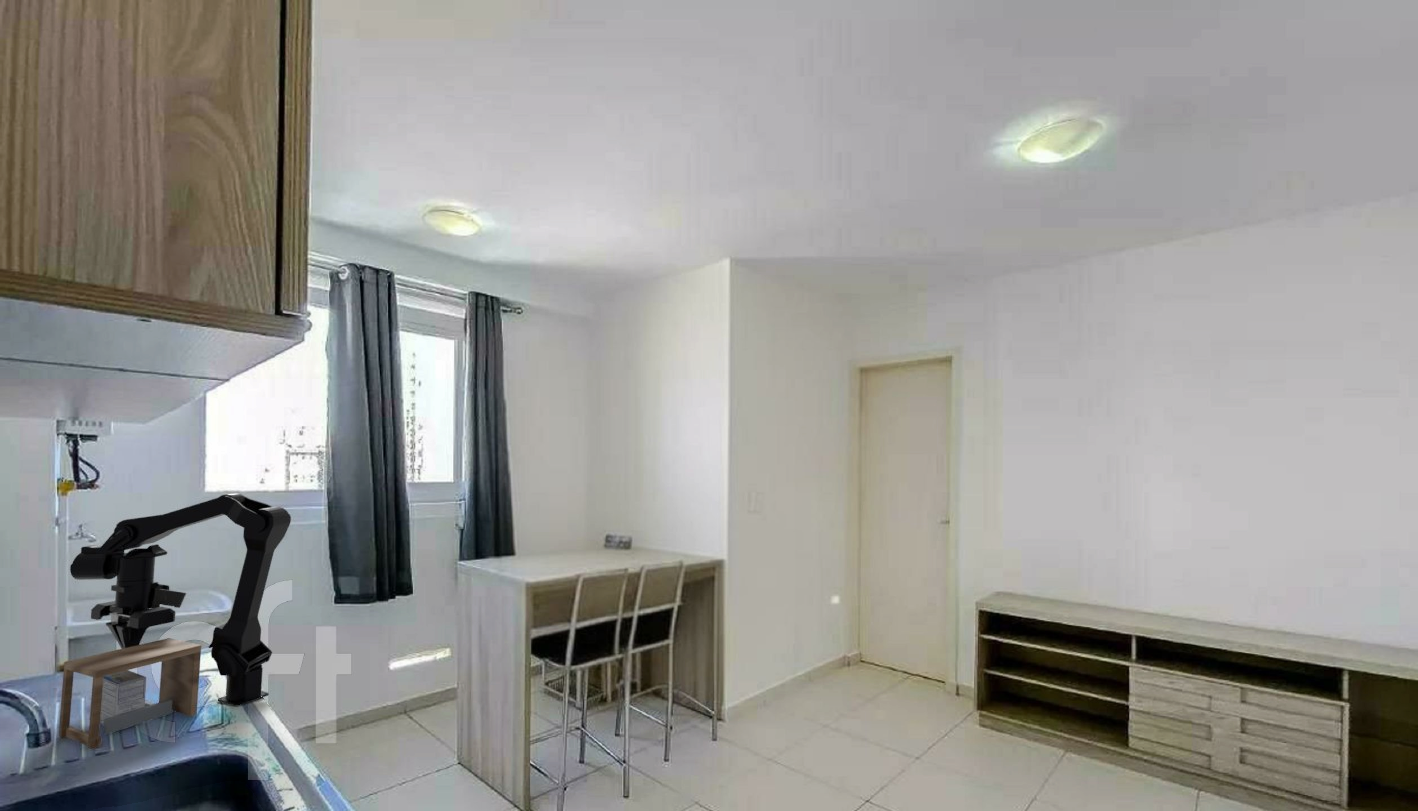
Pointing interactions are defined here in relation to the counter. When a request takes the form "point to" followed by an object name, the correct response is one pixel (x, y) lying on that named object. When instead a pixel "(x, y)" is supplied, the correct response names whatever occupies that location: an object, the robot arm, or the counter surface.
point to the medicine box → (122, 693)
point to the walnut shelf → (175, 669)
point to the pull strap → (137, 716)
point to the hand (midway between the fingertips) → (130, 656)
